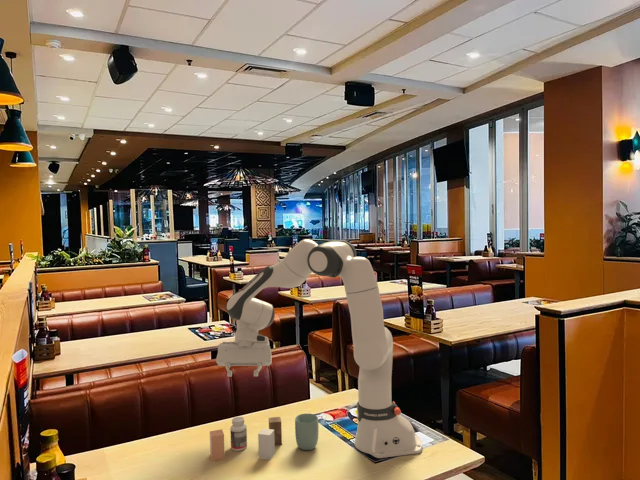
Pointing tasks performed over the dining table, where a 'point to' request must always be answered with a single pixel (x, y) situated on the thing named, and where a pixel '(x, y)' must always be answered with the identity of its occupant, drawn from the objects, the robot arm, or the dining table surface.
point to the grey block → (266, 444)
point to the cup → (306, 431)
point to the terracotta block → (217, 445)
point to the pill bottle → (238, 434)
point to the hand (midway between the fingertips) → (242, 375)
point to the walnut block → (276, 429)
